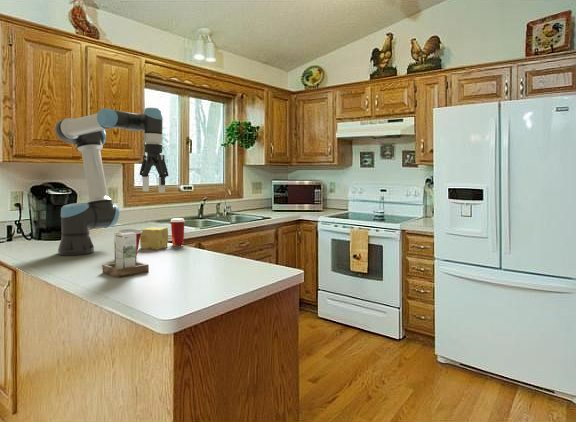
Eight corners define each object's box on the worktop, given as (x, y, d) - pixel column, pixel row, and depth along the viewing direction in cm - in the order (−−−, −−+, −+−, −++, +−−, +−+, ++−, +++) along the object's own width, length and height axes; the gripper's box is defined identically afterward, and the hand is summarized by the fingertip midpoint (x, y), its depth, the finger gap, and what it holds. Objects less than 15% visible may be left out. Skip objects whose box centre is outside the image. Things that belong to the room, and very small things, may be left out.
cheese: (158, 249, 199) (158, 229, 199) (139, 248, 202) (138, 229, 201) (168, 246, 210) (168, 227, 209) (150, 245, 212) (149, 226, 211)
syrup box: (128, 268, 155) (127, 231, 154) (137, 270, 151) (136, 232, 150) (114, 270, 150) (113, 232, 149) (123, 273, 147) (122, 234, 146)
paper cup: (188, 244, 216) (187, 218, 215) (179, 246, 209) (179, 219, 208) (175, 243, 219) (175, 217, 218) (167, 245, 212) (167, 219, 211)
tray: (102, 272, 150) (102, 264, 150) (132, 267, 159) (132, 260, 159) (118, 278, 143) (118, 269, 142) (148, 272, 152) (148, 264, 152)
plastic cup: (129, 259, 175) (128, 232, 174) (112, 257, 179) (111, 230, 178) (148, 255, 184) (147, 229, 183) (131, 253, 189) (130, 228, 188)
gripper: (176, 143, 170) (176, 193, 173) (146, 145, 187) (146, 190, 189) (161, 142, 165) (161, 193, 167) (131, 144, 181) (131, 190, 183)
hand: (153, 192), depth 178 cm, fingers open, 13 cm apart
